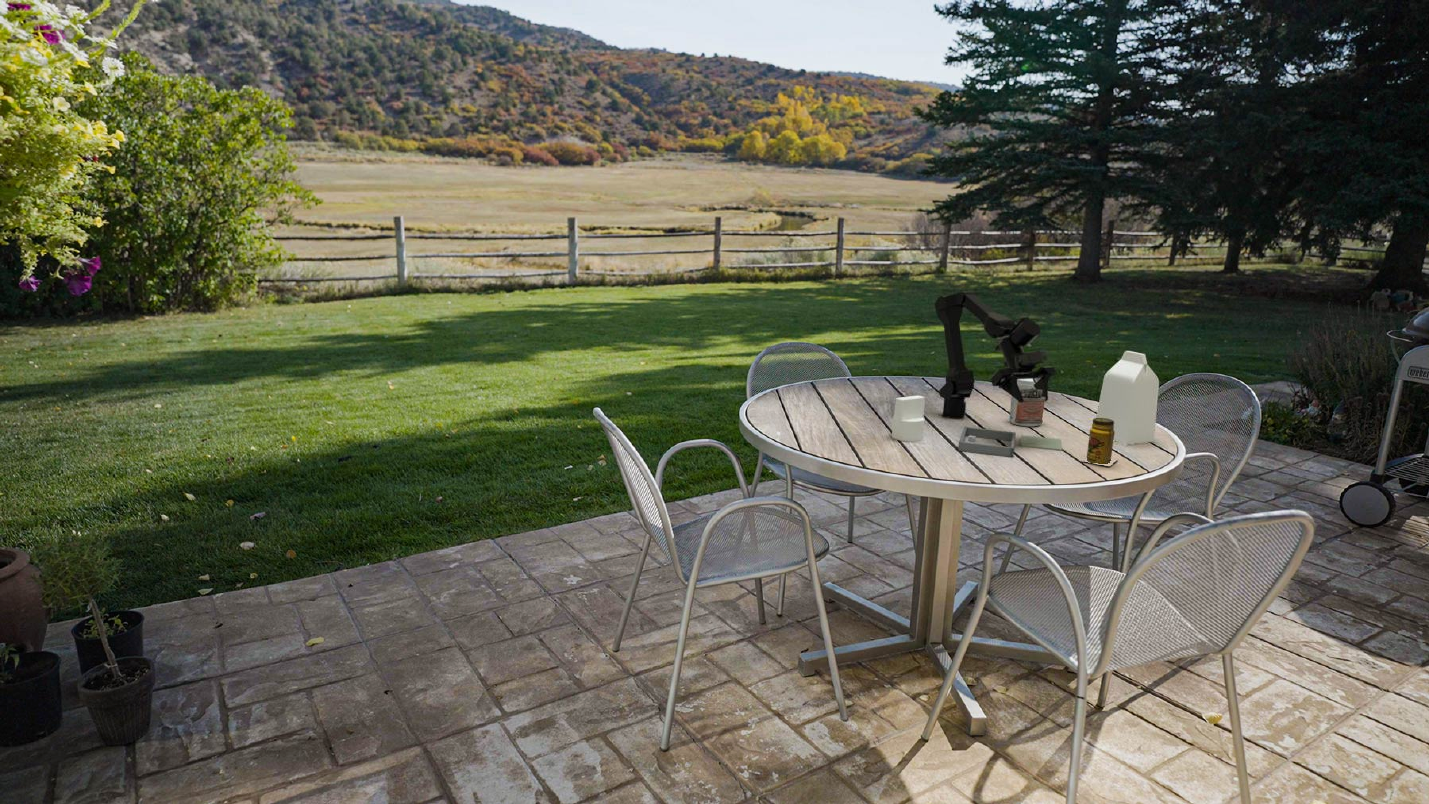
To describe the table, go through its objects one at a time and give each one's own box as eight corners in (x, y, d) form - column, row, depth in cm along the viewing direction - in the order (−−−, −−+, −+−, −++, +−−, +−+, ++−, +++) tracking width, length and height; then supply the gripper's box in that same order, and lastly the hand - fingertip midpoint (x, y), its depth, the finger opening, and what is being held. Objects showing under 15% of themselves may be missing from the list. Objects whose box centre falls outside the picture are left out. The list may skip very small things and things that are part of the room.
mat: (1020, 446, 242) (1020, 444, 242) (1021, 436, 252) (1021, 435, 252) (1061, 450, 238) (1061, 449, 238) (1061, 440, 248) (1061, 439, 248)
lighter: (1039, 420, 244) (1043, 387, 241) (1044, 424, 241) (1049, 390, 238) (1012, 420, 243) (1016, 387, 241) (1017, 424, 240) (1021, 390, 238)
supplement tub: (1047, 425, 266) (1052, 379, 262) (1028, 429, 260) (1033, 382, 257) (1021, 418, 273) (1026, 373, 270) (1002, 421, 268) (1006, 376, 265)
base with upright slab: (905, 443, 243) (908, 402, 240) (885, 435, 251) (888, 395, 248) (929, 439, 247) (932, 399, 244) (909, 431, 255) (912, 393, 252)
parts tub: (958, 450, 236) (958, 442, 236) (963, 434, 252) (964, 426, 252) (1012, 457, 231) (1013, 448, 231) (1014, 440, 247) (1015, 432, 247)
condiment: (1080, 462, 228) (1086, 419, 225) (1090, 455, 235) (1096, 414, 232) (1109, 468, 224) (1115, 424, 221) (1118, 461, 230) (1124, 418, 227)
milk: (1092, 434, 256) (1104, 350, 250) (1120, 431, 260) (1132, 348, 254) (1125, 445, 245) (1138, 357, 239) (1153, 441, 250) (1166, 355, 243)
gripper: (1001, 340, 237) (1021, 388, 230) (1056, 338, 243) (1078, 384, 235) (981, 362, 246) (1000, 408, 239) (1035, 360, 252) (1055, 405, 244)
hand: (1034, 401), depth 239 cm, fingers closed on lighter, 8 cm apart
